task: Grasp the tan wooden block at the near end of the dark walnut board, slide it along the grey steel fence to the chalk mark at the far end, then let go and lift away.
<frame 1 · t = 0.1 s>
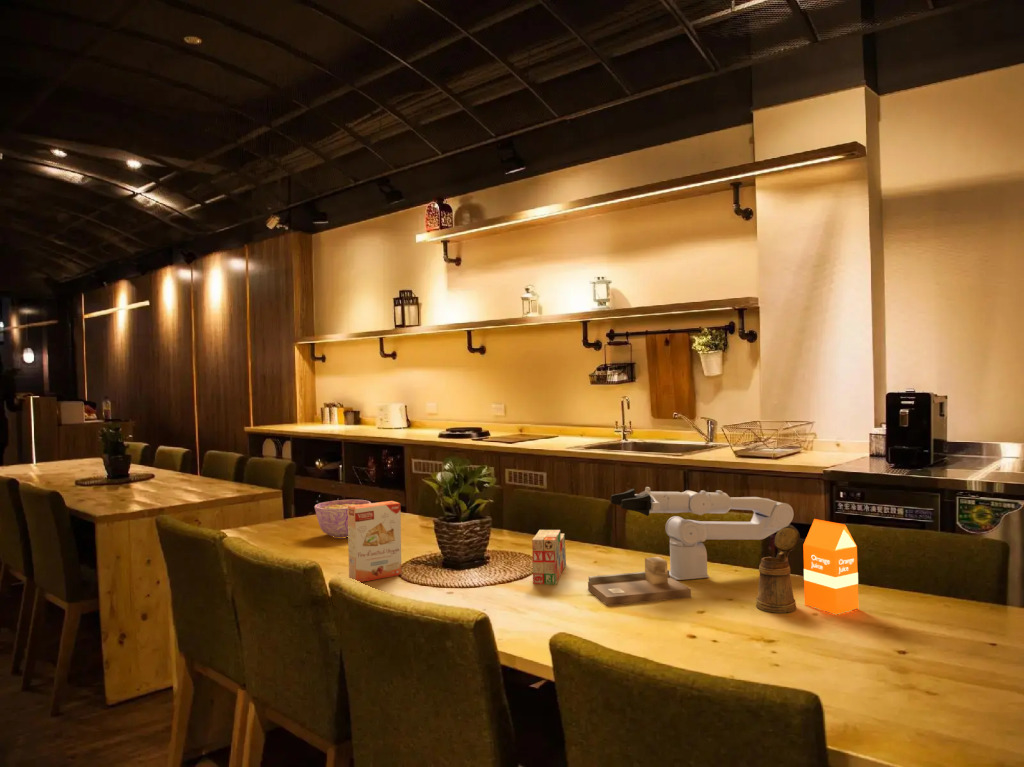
hand: (616, 501, 194), 22 cm above the table, tool horizontal, fingers open, 7 cm apart
wooden mug: (780, 605, 172), on the table
stack of blocks: (550, 574, 205), on the table
bowl of food: (343, 536, 263), on the table
walnut board: (638, 593, 184), on the table
cracker box: (375, 578, 205), on the table
orange juice: (831, 608, 169), on the table
tan wooden block: (656, 580, 187), point 2 cm above the table, touching walnut board
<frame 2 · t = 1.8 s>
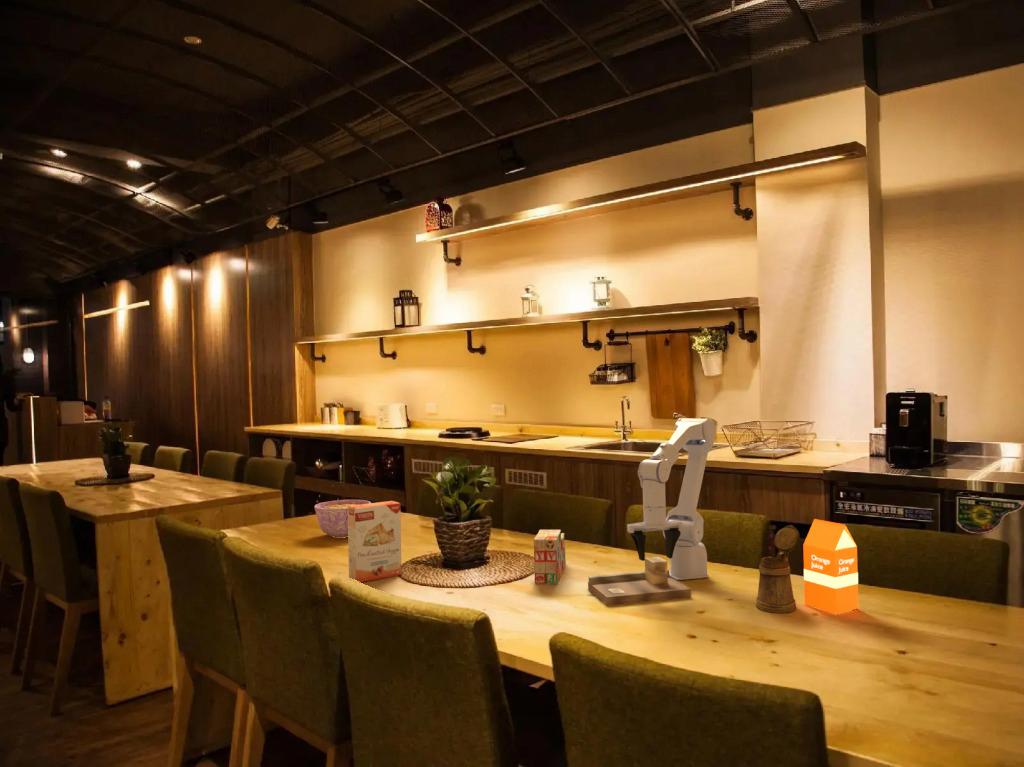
hand: (655, 558, 187), 8 cm above the table, tool pointing down, fingers open, 7 cm apart
nothing on the table moved.
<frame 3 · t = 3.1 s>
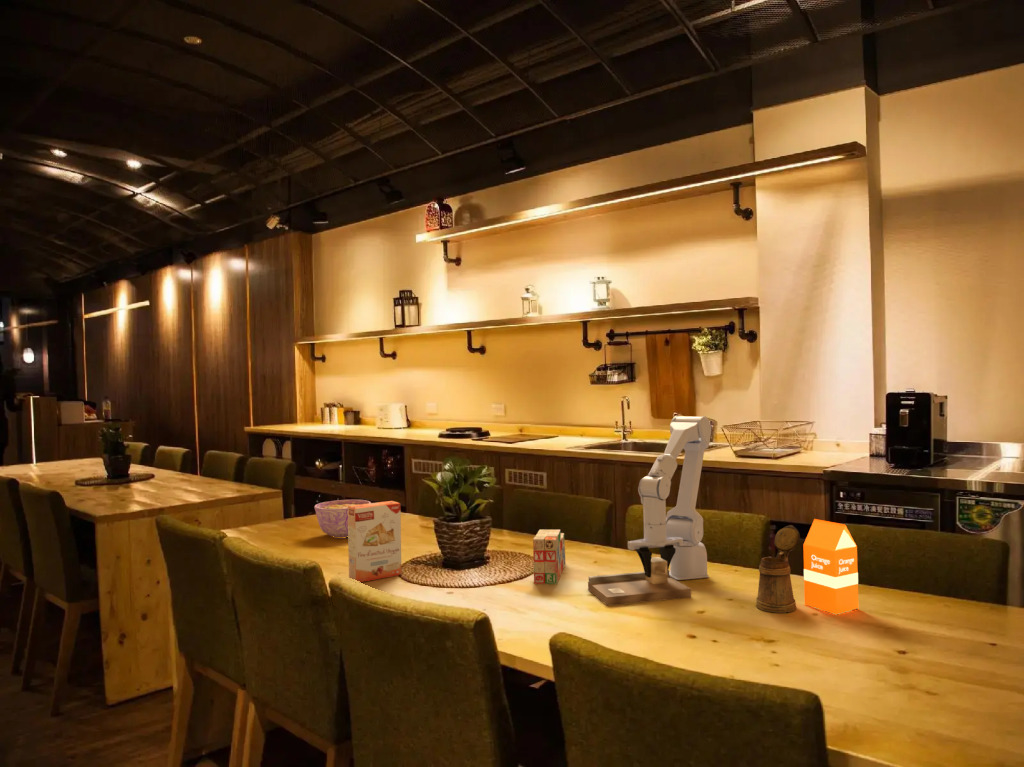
hand: (656, 575, 187), 3 cm above the table, tool pointing down, fingers closed on tan wooden block, 4 cm apart
tan wooden block: (656, 580, 187), point 2 cm above the table, touching gripper, walnut board
everything else where it was.
when the fingers open (3 cm above the table, at t = 8.0 s): tan wooden block stays where it is, resting on walnut board.
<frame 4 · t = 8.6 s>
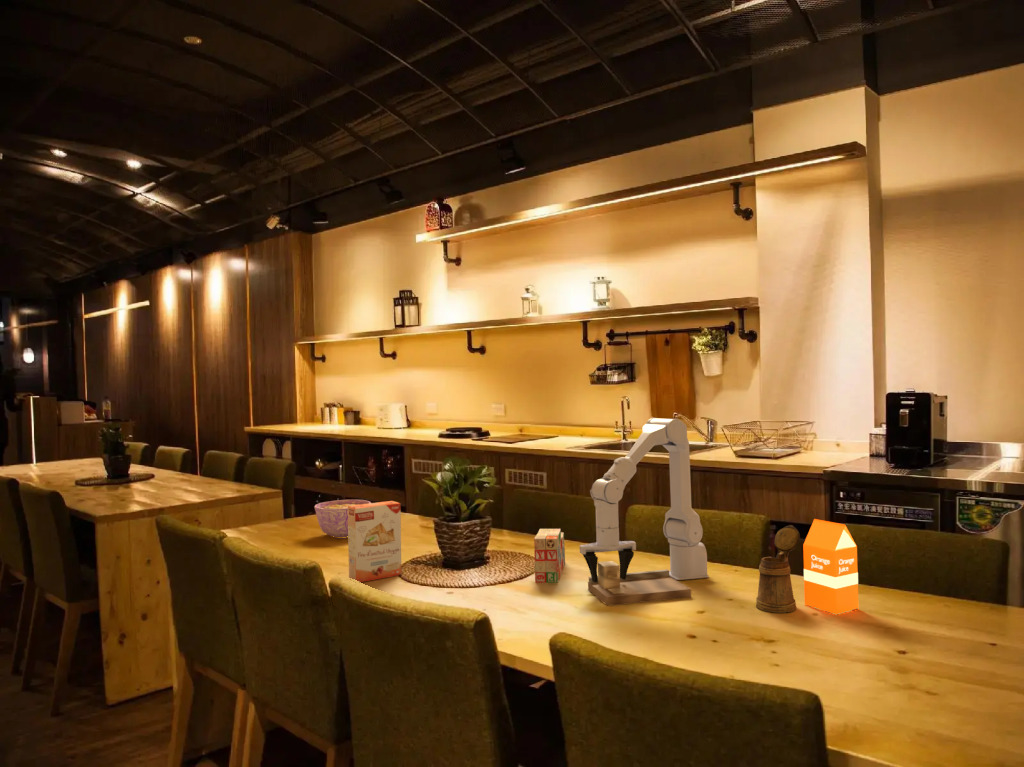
hand: (608, 579, 184), 3 cm above the table, tool pointing down, fingers open, 7 cm apart
tan wooden block: (608, 585, 184), point 2 cm above the table, touching walnut board
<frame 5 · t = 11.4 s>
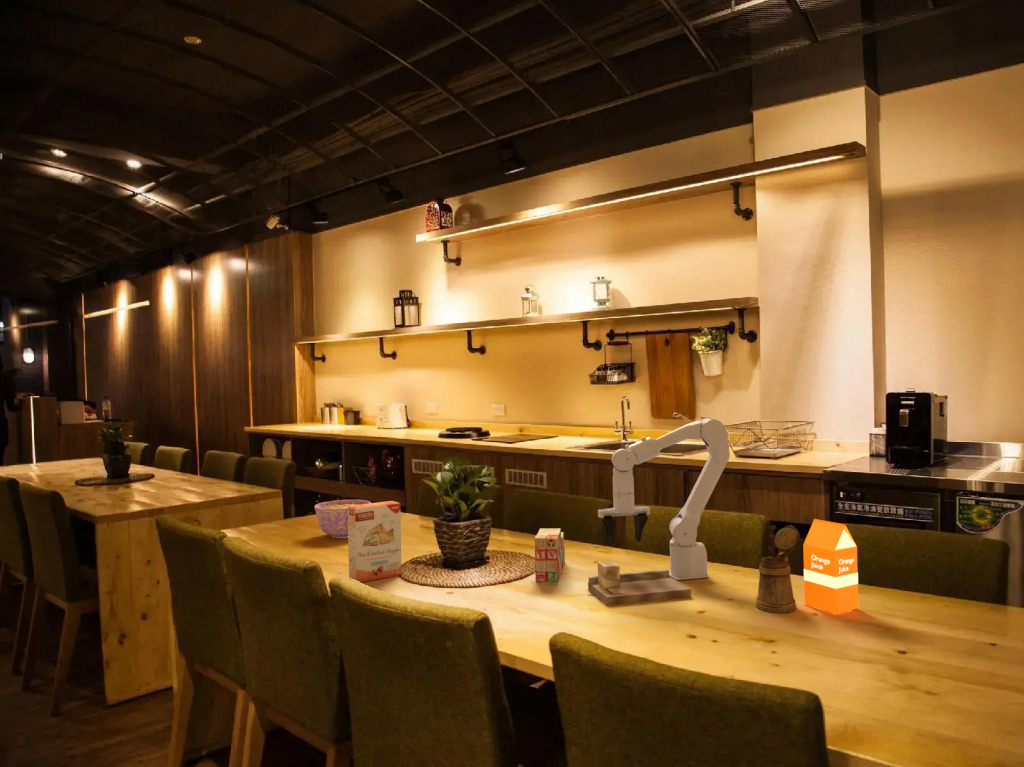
hand: (624, 541, 200), 9 cm above the table, tool pointing down, fingers open, 7 cm apart
at the end: tan wooden block 0.1 cm from the target spot, point 2.0 cm above the table; tan wooden block tilted 0°; the gripper is holding nothing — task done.
